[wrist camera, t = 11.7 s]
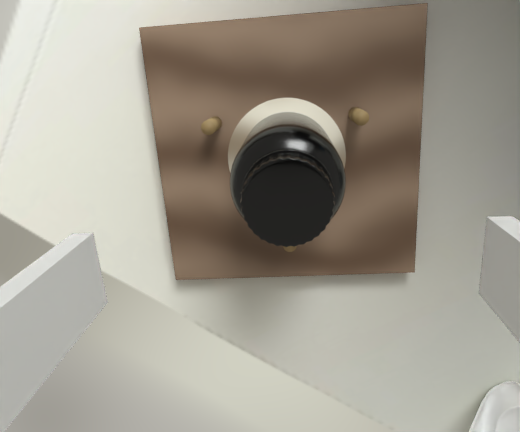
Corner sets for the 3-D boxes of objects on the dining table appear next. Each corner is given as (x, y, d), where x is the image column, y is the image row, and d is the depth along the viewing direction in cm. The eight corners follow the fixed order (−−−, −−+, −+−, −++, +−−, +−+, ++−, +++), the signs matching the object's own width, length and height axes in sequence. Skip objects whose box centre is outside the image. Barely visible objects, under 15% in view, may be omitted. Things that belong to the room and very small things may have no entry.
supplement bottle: (228, 176, 33) (196, 229, 22) (267, 94, 31) (253, 107, 20) (306, 214, 34) (314, 285, 23) (349, 137, 32) (382, 172, 20)
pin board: (145, 29, 32) (123, 23, 28) (420, 6, 30) (442, -5, 26) (180, 272, 38) (166, 297, 34) (409, 264, 36) (425, 289, 32)
